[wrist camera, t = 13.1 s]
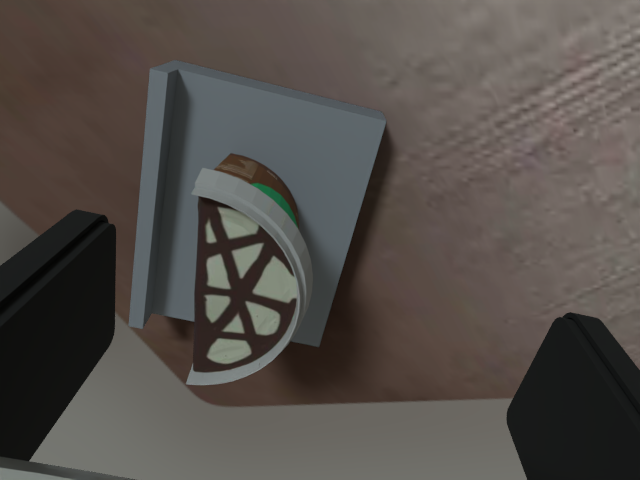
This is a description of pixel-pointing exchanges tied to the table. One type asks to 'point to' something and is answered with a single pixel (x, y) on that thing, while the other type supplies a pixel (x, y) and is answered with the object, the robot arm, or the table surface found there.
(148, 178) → the stand
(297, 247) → the food container
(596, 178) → the table surface
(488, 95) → the table surface
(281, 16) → the table surface
